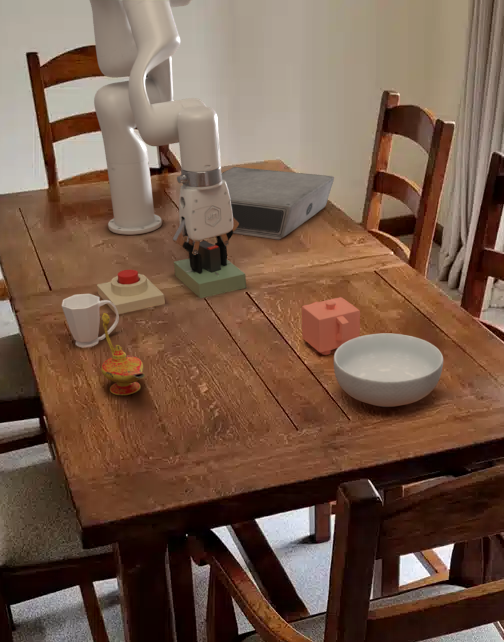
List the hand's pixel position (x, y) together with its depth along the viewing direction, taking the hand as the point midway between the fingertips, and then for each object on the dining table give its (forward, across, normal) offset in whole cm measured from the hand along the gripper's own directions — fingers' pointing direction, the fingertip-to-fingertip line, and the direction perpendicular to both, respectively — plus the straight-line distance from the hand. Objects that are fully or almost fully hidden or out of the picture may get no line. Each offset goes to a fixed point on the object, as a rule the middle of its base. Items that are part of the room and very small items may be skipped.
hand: (209, 266), depth 192 cm
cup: (+3, -31, -9) cm, 33 cm away
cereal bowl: (+4, -5, -59) cm, 59 cm away
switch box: (+3, -17, +3) cm, 17 cm away
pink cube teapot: (+4, 0, -38) cm, 39 cm away
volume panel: (+3, 0, 0) cm, 3 cm away
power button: (0, -17, +3) cm, 17 cm away
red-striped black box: (0, 0, 0) cm, 0 cm away
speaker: (+3, +30, +26) cm, 40 cm away
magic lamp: (+4, -36, -31) cm, 48 cm away
